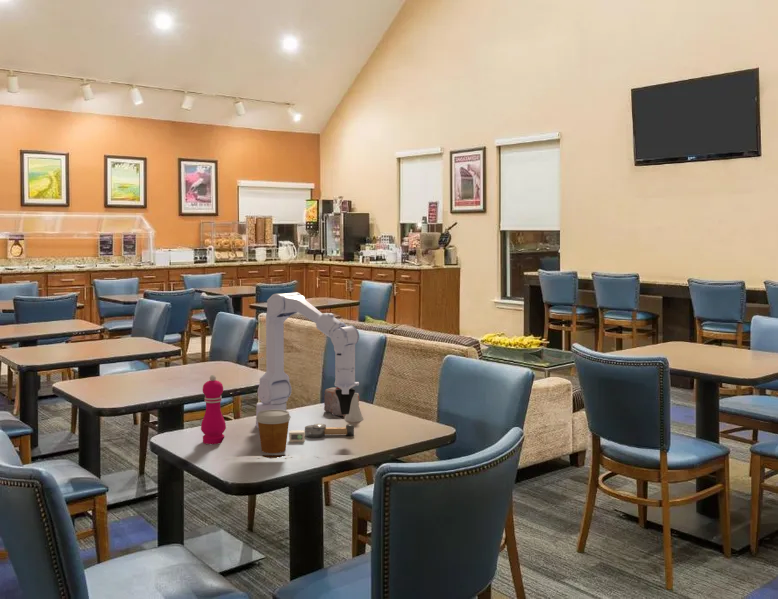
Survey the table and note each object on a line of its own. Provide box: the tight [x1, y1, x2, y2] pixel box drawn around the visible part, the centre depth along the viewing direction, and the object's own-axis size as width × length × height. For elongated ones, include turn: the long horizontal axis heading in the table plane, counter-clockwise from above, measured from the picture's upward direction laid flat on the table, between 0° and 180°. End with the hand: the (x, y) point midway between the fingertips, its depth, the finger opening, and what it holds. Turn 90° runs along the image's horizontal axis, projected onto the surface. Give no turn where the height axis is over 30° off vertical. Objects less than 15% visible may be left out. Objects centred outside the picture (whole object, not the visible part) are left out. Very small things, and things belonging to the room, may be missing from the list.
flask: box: [343, 392, 364, 423], centre depth 251 cm, size 7×7×10 cm
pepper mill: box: [200, 374, 227, 445], centre depth 228 cm, size 7×7×20 cm
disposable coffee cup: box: [255, 409, 292, 459], centre depth 215 cm, size 10×10×12 cm
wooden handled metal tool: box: [304, 423, 355, 439], centre depth 231 cm, size 15×6×3 cm, turn 94°
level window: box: [288, 429, 306, 443], centre depth 224 cm, size 4×3×3 cm
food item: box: [323, 387, 360, 418], centre depth 265 cm, size 14×8×10 cm, turn 40°
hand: (345, 413), depth 224 cm, fingers closed
